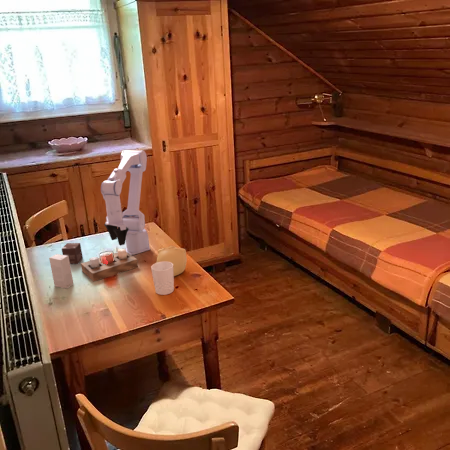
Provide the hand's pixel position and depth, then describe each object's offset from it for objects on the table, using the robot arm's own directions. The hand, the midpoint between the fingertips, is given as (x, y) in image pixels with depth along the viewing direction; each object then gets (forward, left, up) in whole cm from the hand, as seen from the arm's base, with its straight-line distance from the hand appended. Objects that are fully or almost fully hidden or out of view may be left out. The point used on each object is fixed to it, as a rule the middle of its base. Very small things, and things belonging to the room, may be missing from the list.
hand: (118, 242), depth 201 cm
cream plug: (-1, 0, -8) cm, 8 cm away
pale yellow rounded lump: (-12, +20, -11) cm, 26 cm away
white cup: (-2, +31, -11) cm, 33 cm away
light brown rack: (+5, 0, -10) cm, 12 cm away
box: (+14, -18, -11) cm, 25 cm away
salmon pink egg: (+5, 0, -8) cm, 9 cm away
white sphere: (+11, 0, -8) cm, 14 cm away
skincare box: (+25, +1, -11) cm, 27 cm away
